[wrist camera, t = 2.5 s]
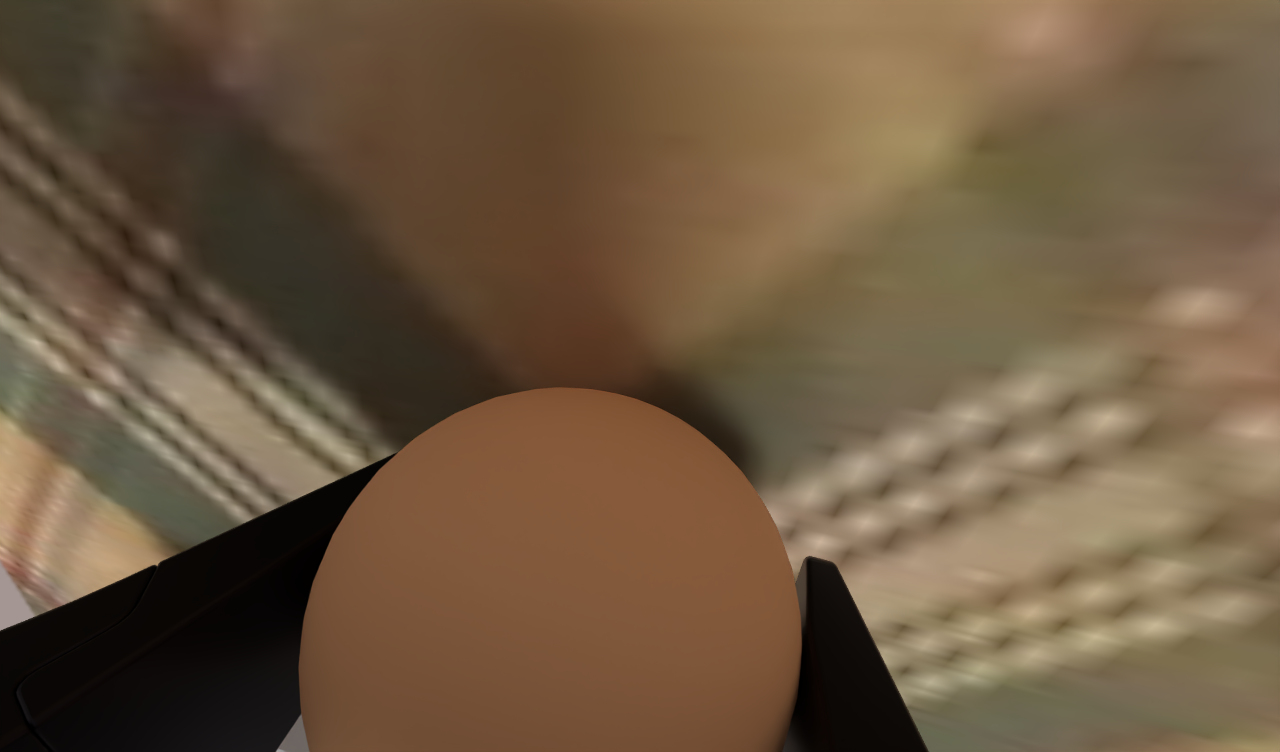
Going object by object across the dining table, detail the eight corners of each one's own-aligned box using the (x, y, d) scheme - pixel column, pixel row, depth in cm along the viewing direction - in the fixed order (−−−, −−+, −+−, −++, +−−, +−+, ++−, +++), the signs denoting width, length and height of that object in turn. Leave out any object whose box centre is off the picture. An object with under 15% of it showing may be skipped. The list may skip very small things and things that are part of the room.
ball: (767, 626, 11) (720, 1098, 7) (476, 544, 12) (246, 900, 8) (855, 356, 8) (896, 898, 3) (451, 276, 9) (17, 595, 4)
